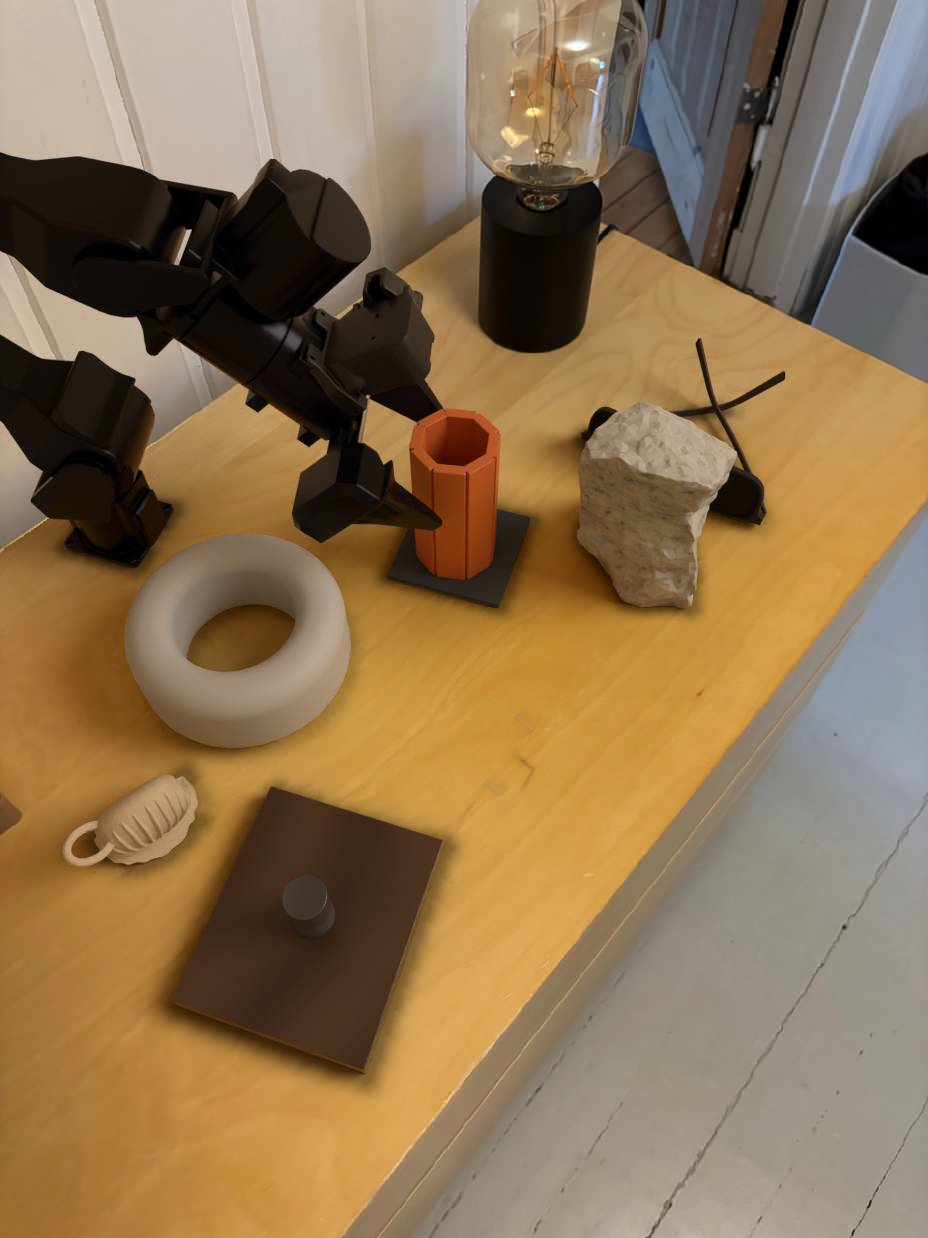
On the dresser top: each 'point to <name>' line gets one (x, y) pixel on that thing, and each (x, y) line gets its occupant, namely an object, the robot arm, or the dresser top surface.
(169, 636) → the fat ring
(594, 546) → the decorative stone
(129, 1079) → the dresser top surface
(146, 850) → the decorative ornament
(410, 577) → the felt mat
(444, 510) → the octagonal orange vase
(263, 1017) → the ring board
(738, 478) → the sunglasses
